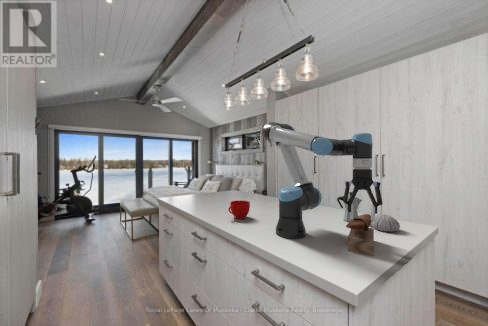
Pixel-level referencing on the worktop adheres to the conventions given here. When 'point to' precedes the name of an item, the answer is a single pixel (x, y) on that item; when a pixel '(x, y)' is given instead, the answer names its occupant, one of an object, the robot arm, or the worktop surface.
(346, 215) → the coffee maker
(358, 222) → the sunglasses case
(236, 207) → the ceramic cup
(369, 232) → the walnut block
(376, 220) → the sea urchin shell
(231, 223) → the worktop surface
